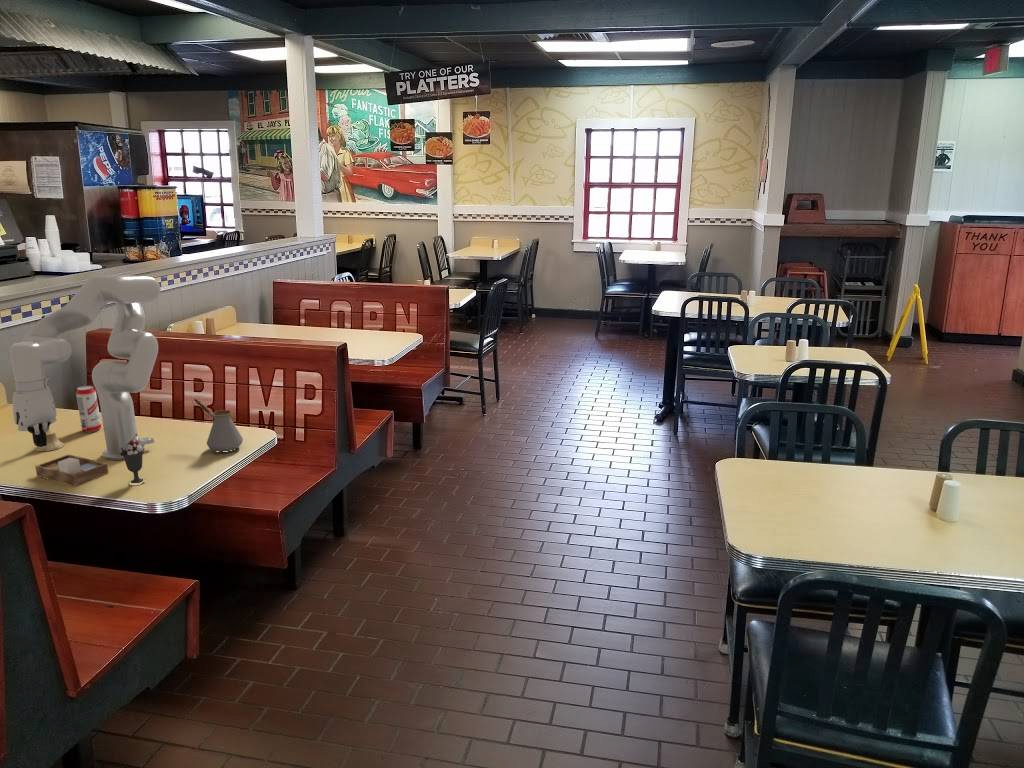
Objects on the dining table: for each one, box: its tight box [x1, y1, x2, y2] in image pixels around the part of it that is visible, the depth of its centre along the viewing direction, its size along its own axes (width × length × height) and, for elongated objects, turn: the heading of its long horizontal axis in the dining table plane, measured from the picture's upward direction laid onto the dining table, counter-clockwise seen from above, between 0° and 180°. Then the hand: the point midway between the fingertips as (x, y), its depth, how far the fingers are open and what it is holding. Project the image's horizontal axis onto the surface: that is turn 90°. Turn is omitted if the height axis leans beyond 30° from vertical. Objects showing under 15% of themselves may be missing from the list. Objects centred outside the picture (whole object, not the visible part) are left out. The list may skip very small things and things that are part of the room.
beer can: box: [75, 385, 102, 433], centre depth 274 cm, size 6×6×16 cm
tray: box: [35, 454, 109, 487], centre depth 237 cm, size 18×11×3 cm, turn 64°
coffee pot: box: [191, 398, 244, 452], centre depth 259 cm, size 21×12×15 cm, turn 54°
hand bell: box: [35, 426, 65, 452], centre depth 257 cm, size 8×8×16 cm
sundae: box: [120, 433, 146, 483], centre depth 230 cm, size 7×7×15 cm
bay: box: [80, 463, 98, 471], centre depth 238 cm, size 5×5×2 cm
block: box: [58, 457, 81, 475], centre depth 233 cm, size 4×4×4 cm
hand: (41, 445), depth 224 cm, fingers closed
